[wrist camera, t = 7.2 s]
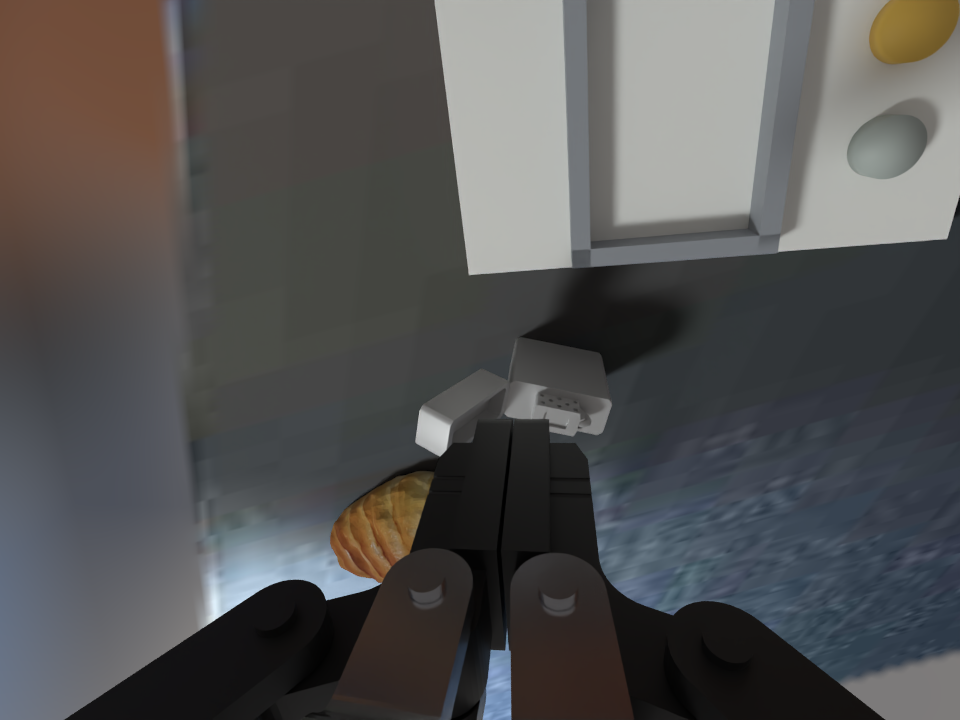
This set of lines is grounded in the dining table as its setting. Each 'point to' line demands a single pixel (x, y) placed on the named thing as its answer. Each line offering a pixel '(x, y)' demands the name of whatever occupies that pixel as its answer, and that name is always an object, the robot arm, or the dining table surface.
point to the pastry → (381, 526)
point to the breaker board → (698, 127)
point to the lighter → (522, 396)
